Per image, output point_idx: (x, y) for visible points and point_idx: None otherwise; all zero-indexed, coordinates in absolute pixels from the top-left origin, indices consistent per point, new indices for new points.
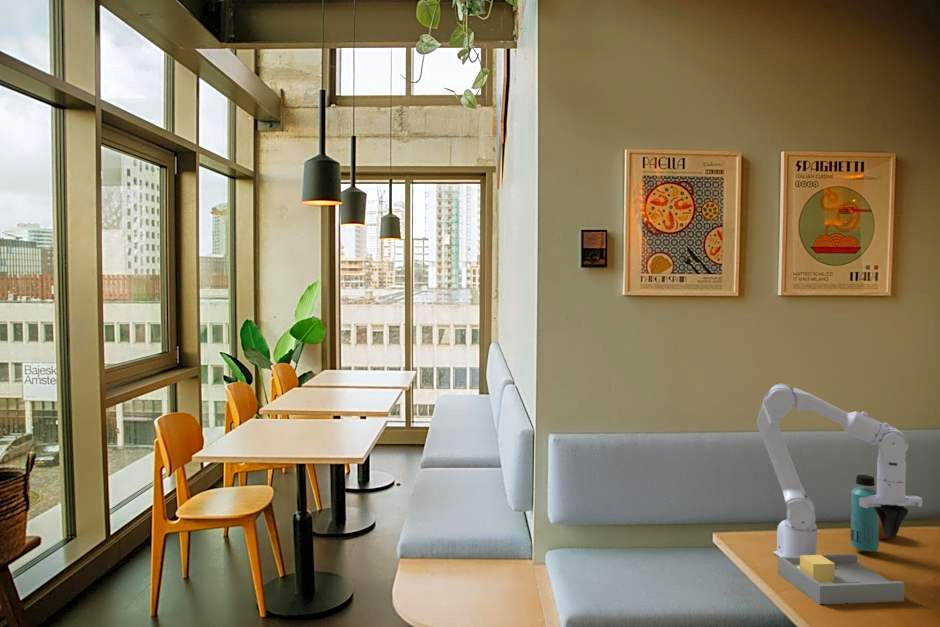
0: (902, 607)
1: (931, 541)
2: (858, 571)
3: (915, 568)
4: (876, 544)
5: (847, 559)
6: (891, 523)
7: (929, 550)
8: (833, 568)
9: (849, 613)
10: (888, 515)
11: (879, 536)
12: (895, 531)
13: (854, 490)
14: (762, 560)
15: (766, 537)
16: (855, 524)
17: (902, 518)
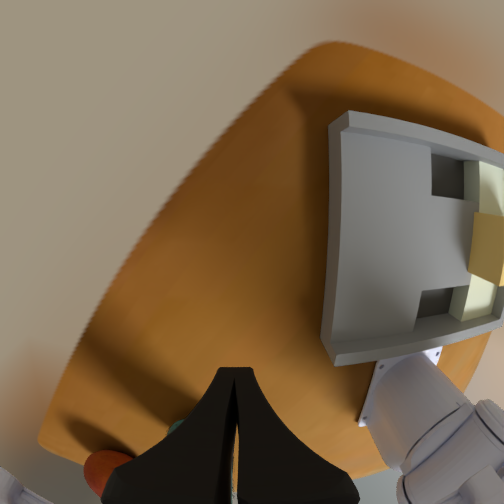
0: (357, 97)
1: (45, 419)
2: (384, 271)
3: (125, 336)
4: None
5: (366, 344)
6: (271, 422)
7: (57, 398)
8: (500, 216)
9: (470, 114)
10: (332, 466)
11: (130, 458)
12: (226, 386)
13: None
14: (456, 371)
15: (360, 465)
16: (231, 486)
17: (170, 445)
